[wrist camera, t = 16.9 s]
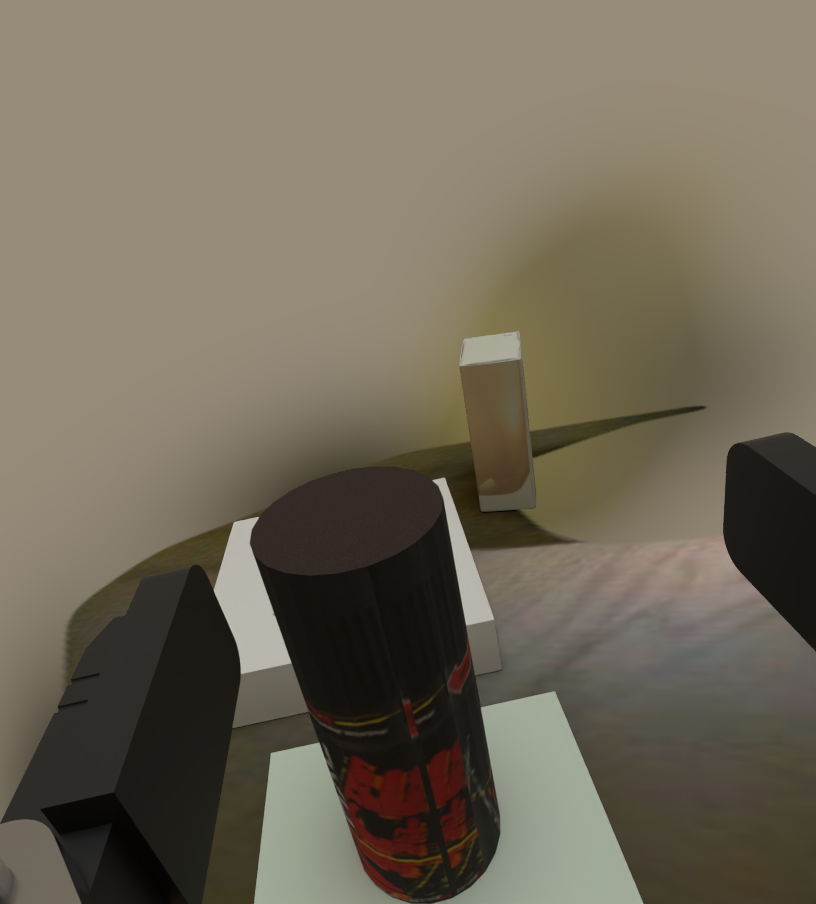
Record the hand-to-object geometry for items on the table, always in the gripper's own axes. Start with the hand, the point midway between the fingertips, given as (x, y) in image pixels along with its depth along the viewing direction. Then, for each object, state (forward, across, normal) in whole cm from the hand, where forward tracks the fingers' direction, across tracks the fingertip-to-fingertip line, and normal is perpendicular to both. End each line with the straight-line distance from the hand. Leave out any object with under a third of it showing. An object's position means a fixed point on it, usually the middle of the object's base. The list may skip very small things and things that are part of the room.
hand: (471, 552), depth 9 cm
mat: (+8, +3, +20) cm, 22 cm away
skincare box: (+34, -7, +21) cm, 41 cm away
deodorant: (+8, +3, +19) cm, 21 cm away
